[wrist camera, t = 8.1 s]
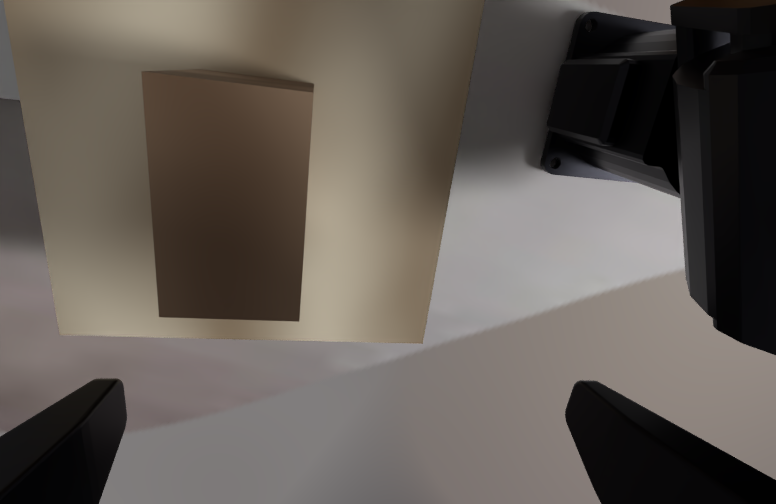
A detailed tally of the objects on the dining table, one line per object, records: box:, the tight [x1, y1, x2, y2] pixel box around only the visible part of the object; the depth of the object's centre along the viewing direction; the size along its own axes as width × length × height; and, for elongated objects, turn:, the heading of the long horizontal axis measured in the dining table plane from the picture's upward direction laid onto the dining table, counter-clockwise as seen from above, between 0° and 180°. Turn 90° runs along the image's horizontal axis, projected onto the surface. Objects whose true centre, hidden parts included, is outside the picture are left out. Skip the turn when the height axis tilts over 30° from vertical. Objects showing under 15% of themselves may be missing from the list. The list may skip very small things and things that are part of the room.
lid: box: [3, 0, 485, 344], centre depth 12 cm, size 12×12×6 cm
